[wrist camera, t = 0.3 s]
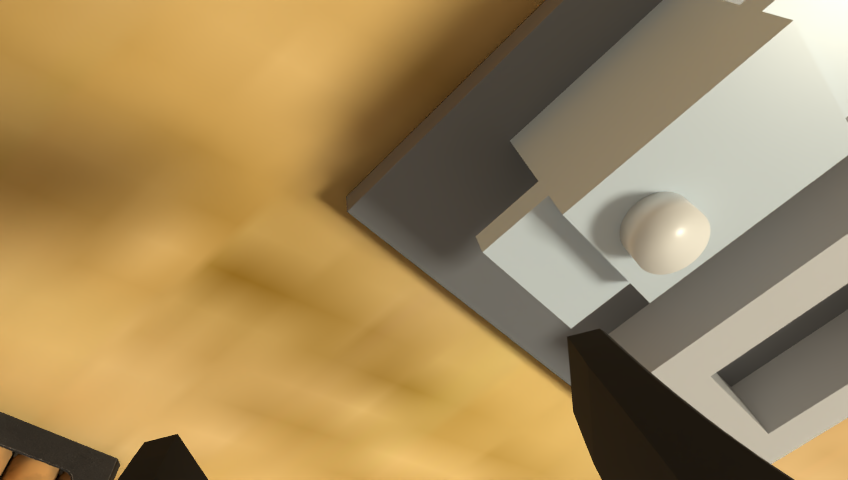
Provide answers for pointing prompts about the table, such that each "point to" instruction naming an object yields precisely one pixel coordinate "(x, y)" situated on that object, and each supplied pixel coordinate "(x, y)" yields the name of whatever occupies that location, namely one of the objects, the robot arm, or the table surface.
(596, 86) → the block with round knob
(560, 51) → the servo chassis
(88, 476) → the ammunition clip
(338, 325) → the table surface
